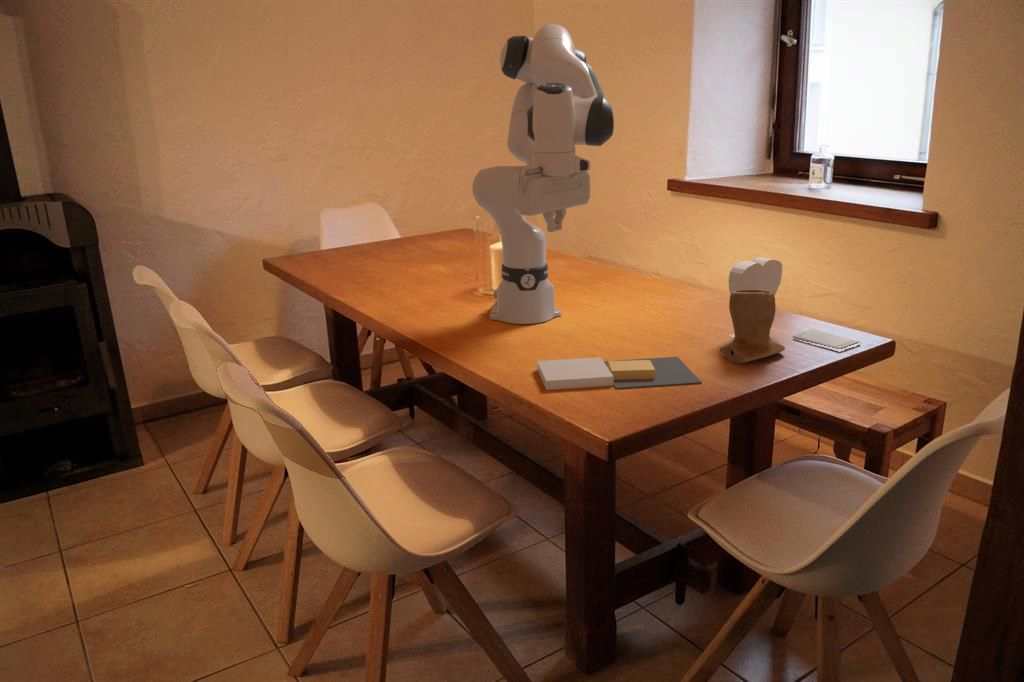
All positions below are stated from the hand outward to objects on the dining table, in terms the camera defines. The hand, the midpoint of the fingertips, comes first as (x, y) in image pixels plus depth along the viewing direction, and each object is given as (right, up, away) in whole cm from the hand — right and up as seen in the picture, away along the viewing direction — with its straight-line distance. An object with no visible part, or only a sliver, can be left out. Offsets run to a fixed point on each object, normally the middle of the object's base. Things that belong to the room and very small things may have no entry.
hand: (554, 230), depth 179 cm
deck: (+4, -31, -2) cm, 32 cm away
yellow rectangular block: (+16, -31, -2) cm, 35 cm away
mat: (+20, -30, 0) cm, 36 cm away
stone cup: (+44, -27, +9) cm, 52 cm away
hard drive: (+64, -24, +17) cm, 71 cm away
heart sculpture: (+49, -22, +24) cm, 59 cm away
